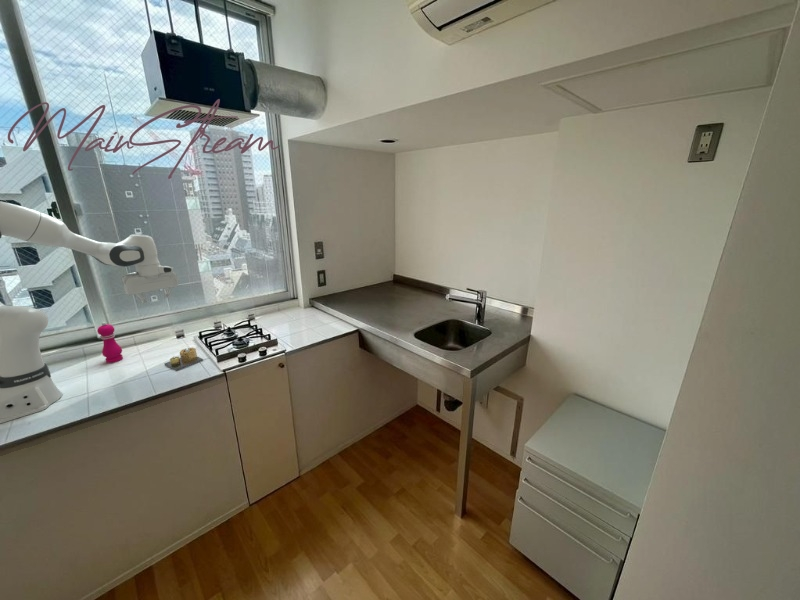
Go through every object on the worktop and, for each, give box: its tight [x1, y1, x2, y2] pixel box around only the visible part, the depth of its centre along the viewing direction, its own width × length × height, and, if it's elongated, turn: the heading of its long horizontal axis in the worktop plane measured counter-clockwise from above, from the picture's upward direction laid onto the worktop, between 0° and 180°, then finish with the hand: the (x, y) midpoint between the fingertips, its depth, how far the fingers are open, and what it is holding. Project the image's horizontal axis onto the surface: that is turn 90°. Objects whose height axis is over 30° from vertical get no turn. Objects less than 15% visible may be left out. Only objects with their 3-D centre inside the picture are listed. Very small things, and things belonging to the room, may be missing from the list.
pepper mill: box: [97, 321, 124, 364], centre depth 152 cm, size 7×7×20 cm
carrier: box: [164, 347, 204, 372], centre depth 151 cm, size 12×11×6 cm
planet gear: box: [179, 347, 198, 362], centre depth 153 cm, size 6×6×4 cm
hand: (156, 299), depth 146 cm, fingers open, 8 cm apart
